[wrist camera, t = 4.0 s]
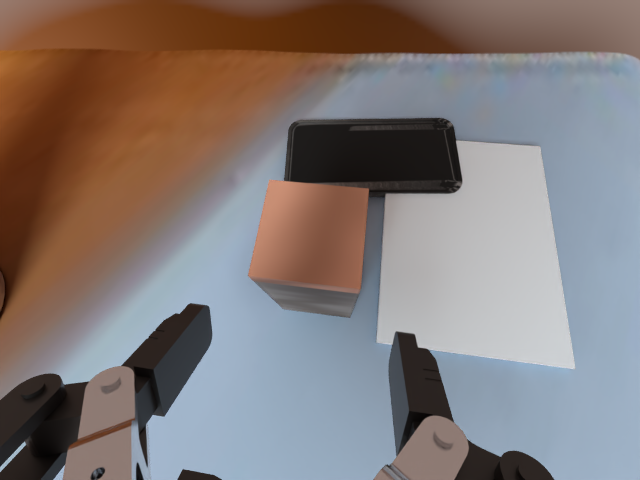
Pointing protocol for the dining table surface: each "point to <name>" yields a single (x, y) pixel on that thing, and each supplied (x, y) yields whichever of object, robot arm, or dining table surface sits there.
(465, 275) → the mat
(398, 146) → the phone
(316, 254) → the block
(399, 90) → the dining table surface
